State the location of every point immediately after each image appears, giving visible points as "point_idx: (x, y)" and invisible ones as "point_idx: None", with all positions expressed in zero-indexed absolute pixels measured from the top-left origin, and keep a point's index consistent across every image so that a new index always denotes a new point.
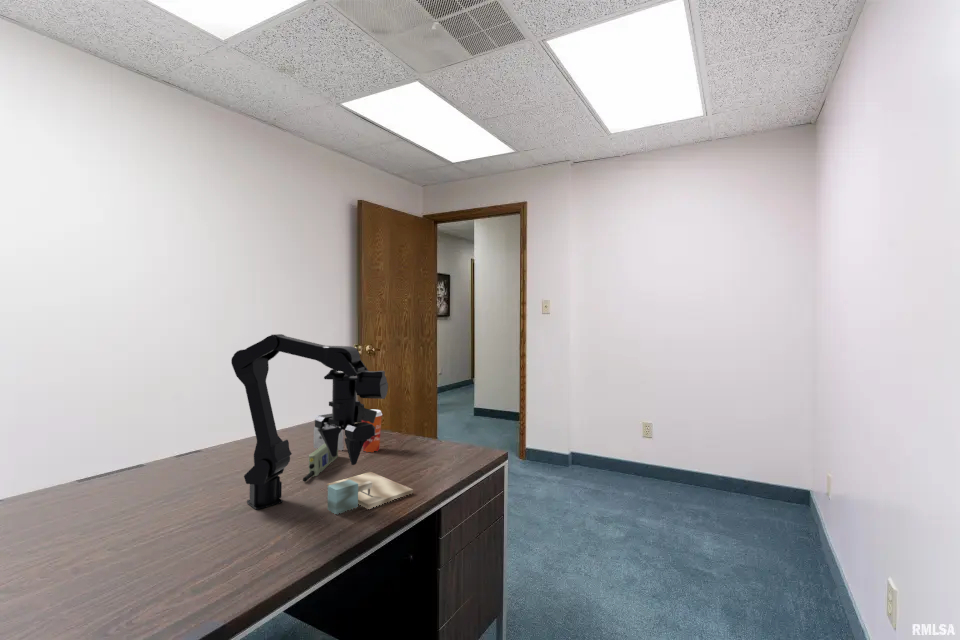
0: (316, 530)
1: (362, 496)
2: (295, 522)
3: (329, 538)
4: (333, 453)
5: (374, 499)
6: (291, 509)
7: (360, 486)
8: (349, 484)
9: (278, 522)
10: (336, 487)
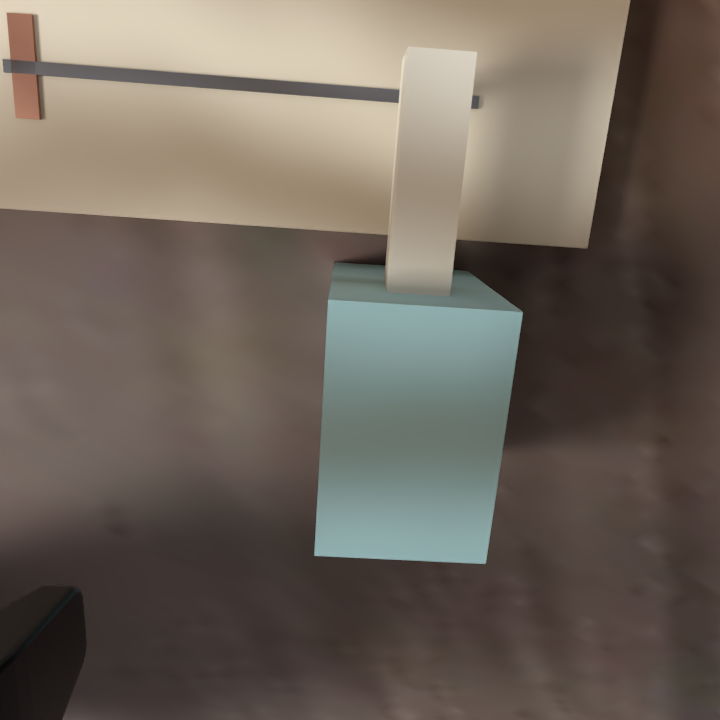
0: (535, 636)
1: None
2: (338, 660)
3: (681, 638)
4: (58, 692)
5: (544, 131)
6: (127, 593)
7: (455, 228)
8: (465, 394)
9: (261, 715)
10: (424, 525)
